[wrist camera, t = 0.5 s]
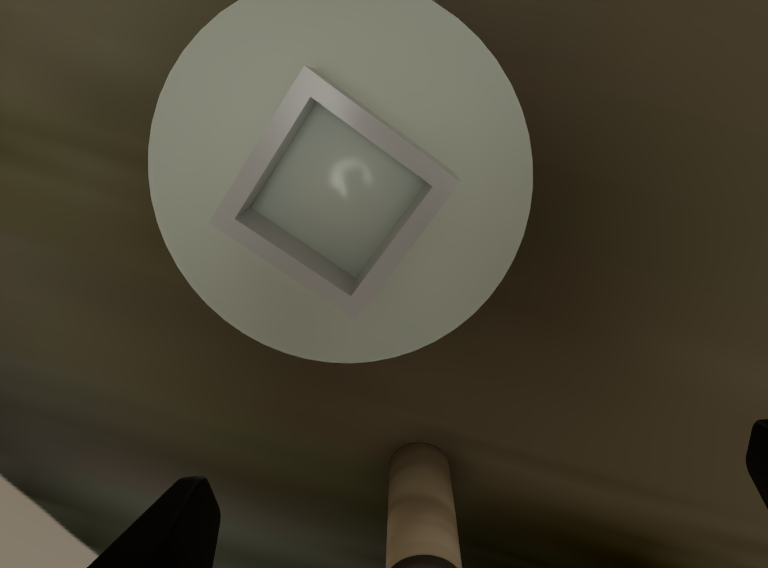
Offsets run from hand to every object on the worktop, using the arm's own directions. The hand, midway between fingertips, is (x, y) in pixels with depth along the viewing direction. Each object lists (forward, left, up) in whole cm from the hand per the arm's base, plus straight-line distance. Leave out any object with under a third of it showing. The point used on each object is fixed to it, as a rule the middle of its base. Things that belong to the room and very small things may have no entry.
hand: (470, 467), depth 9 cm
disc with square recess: (0, +4, -15) cm, 15 cm away
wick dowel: (-10, -7, -15) cm, 19 cm away
